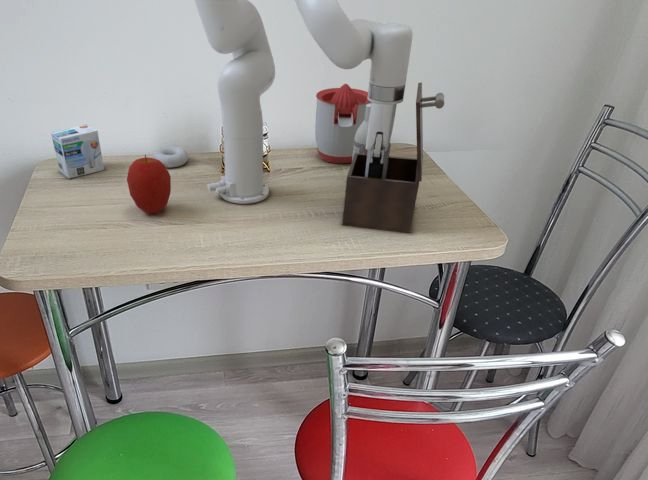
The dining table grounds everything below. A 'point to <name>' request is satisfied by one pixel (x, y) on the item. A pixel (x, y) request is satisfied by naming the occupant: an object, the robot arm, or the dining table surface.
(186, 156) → the donut
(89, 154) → the light bulb box
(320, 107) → the citrus juicer
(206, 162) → the dining table surface
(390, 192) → the chest
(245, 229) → the dining table surface
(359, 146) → the bath foam
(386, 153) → the beverage can
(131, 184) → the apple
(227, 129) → the robot arm
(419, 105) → the lid
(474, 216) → the dining table surface
